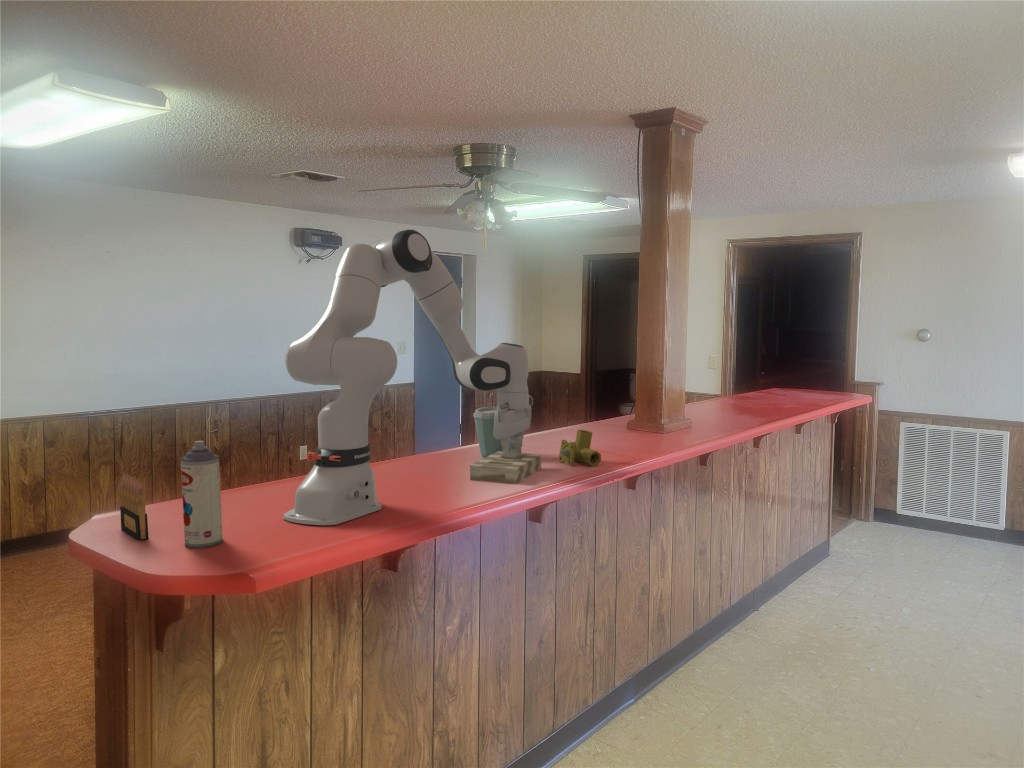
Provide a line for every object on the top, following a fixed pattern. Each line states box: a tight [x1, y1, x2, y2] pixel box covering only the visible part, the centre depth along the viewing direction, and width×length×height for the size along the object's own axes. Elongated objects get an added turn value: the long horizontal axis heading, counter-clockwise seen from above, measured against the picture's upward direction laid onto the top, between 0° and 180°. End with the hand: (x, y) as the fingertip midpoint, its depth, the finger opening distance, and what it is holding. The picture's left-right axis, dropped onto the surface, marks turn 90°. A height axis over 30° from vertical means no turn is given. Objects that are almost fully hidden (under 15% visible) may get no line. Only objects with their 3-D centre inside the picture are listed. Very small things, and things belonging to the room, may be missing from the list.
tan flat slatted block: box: [469, 451, 542, 485], centre depth 201 cm, size 20×13×4 cm, turn 159°
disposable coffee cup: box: [472, 406, 503, 459], centre depth 223 cm, size 11×11×15 cm
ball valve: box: [558, 429, 602, 468], centre depth 214 cm, size 13×10×10 cm
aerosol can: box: [180, 440, 224, 549], centre depth 141 cm, size 7×7×20 cm
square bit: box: [503, 435, 522, 460], centre depth 205 cm, size 4×4×10 cm
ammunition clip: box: [119, 472, 150, 542], centre depth 147 cm, size 11×2×12 cm, turn 45°
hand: (512, 450), depth 204 cm, fingers open, 8 cm apart
